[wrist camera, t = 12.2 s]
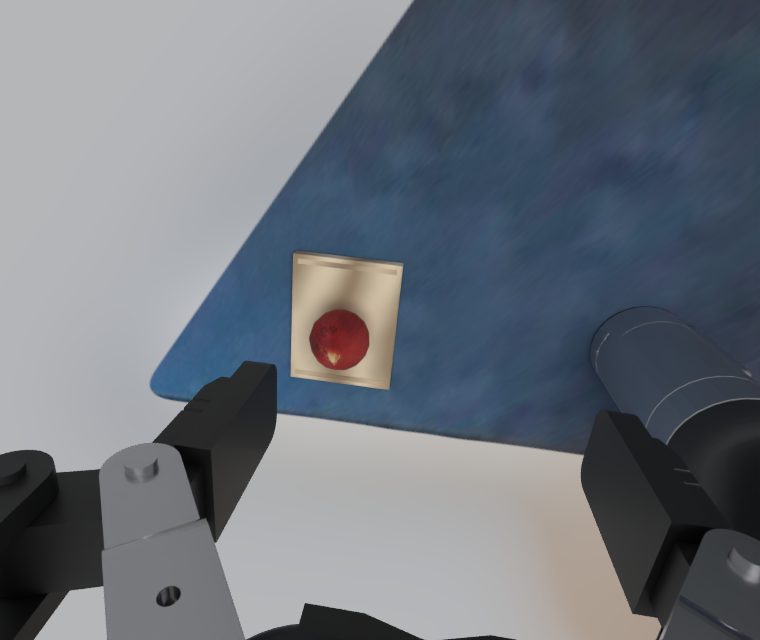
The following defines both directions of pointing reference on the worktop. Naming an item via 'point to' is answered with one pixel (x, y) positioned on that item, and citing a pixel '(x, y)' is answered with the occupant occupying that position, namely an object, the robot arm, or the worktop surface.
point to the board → (352, 293)
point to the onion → (339, 339)
